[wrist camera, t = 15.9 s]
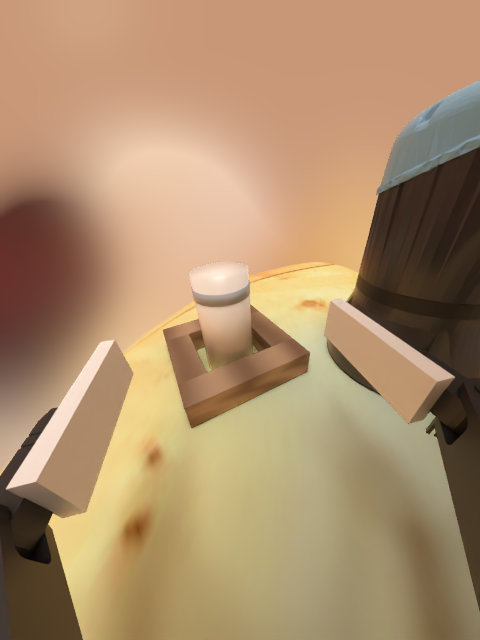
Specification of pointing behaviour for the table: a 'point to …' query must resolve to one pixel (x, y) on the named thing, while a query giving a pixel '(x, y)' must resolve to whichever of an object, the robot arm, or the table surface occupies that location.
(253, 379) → the cradle
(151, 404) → the table surface
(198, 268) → the white cylinder
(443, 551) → the table surface
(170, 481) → the table surface
